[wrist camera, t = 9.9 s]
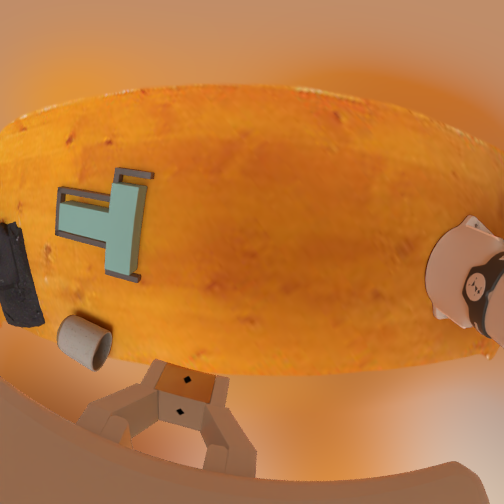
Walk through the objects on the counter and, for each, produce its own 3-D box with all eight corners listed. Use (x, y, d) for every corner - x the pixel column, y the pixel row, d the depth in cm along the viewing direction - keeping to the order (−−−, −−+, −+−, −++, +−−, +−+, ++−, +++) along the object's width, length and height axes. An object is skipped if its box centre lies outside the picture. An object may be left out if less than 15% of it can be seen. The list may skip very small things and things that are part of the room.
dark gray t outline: (154, 172, 34) (151, 173, 33) (140, 280, 39) (137, 283, 38) (65, 161, 34) (61, 161, 32) (59, 256, 38) (55, 258, 37)
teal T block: (147, 186, 35) (138, 187, 32) (137, 268, 38) (129, 275, 35) (74, 174, 34) (62, 175, 31) (68, 249, 38) (58, 254, 35)
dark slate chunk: (9, 321, 43) (-2, 330, 38) (-16, 226, 37) (-31, 231, 32) (50, 326, 42) (37, 338, 38) (22, 216, 36) (4, 221, 32)
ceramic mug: (74, 304, 40) (51, 326, 33) (113, 323, 41) (93, 348, 34) (75, 348, 43) (56, 372, 36) (111, 366, 44) (94, 392, 37)
